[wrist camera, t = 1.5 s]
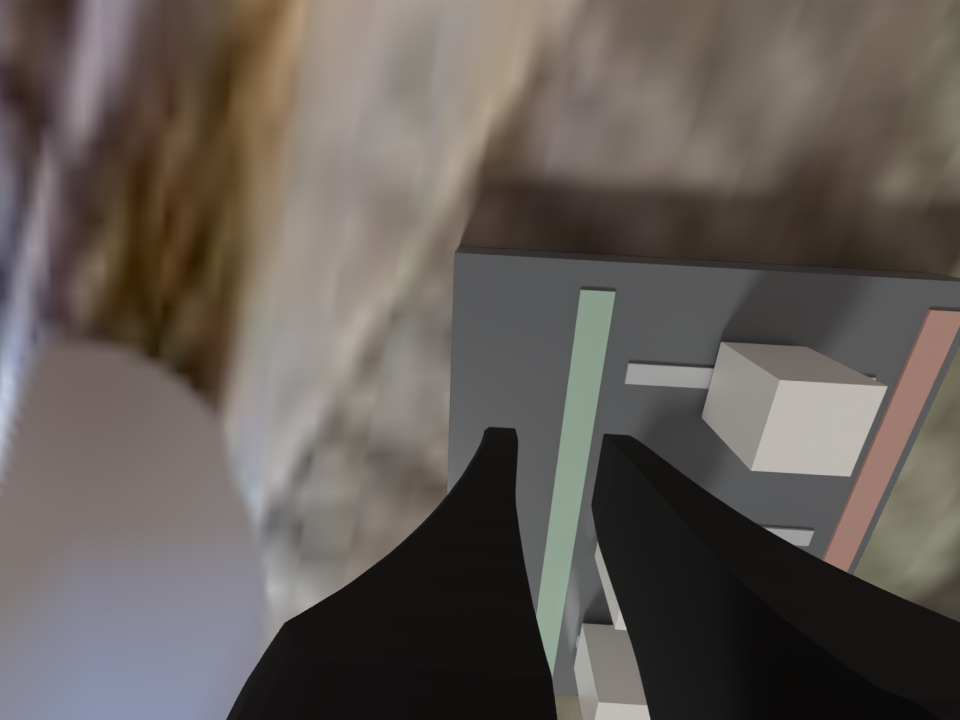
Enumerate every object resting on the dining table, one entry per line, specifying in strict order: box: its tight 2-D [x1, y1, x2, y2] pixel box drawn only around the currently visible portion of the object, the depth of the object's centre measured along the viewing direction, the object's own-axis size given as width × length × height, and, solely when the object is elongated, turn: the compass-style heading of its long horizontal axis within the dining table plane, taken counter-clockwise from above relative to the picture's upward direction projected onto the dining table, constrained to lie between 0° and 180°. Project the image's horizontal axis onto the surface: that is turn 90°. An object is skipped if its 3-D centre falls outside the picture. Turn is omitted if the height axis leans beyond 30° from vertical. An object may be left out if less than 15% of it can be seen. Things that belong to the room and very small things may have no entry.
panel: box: [447, 246, 960, 696], centre depth 20 cm, size 18×22×2 cm
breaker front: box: [702, 342, 888, 477], centre depth 14 cm, size 3×3×3 cm
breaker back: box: [574, 623, 650, 720], centre depth 19 cm, size 3×3×3 cm
